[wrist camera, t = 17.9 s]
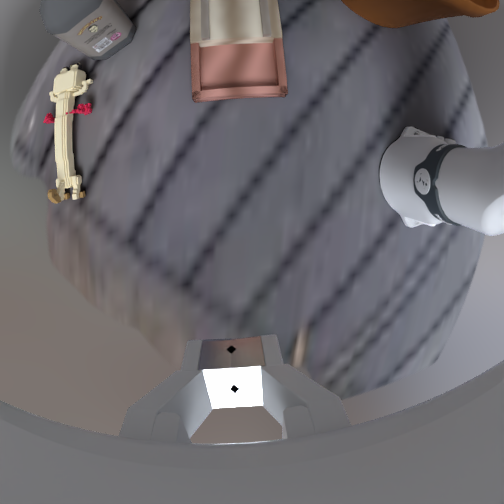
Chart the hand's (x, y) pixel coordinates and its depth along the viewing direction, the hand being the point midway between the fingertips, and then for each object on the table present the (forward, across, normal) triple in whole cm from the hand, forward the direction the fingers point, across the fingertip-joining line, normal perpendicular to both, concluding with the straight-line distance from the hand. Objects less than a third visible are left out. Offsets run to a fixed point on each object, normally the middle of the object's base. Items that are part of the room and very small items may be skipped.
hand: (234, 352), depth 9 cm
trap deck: (+35, -2, -42) cm, 55 cm away
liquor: (+35, +20, -34) cm, 53 cm away
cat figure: (+36, +28, -17) cm, 48 cm away
